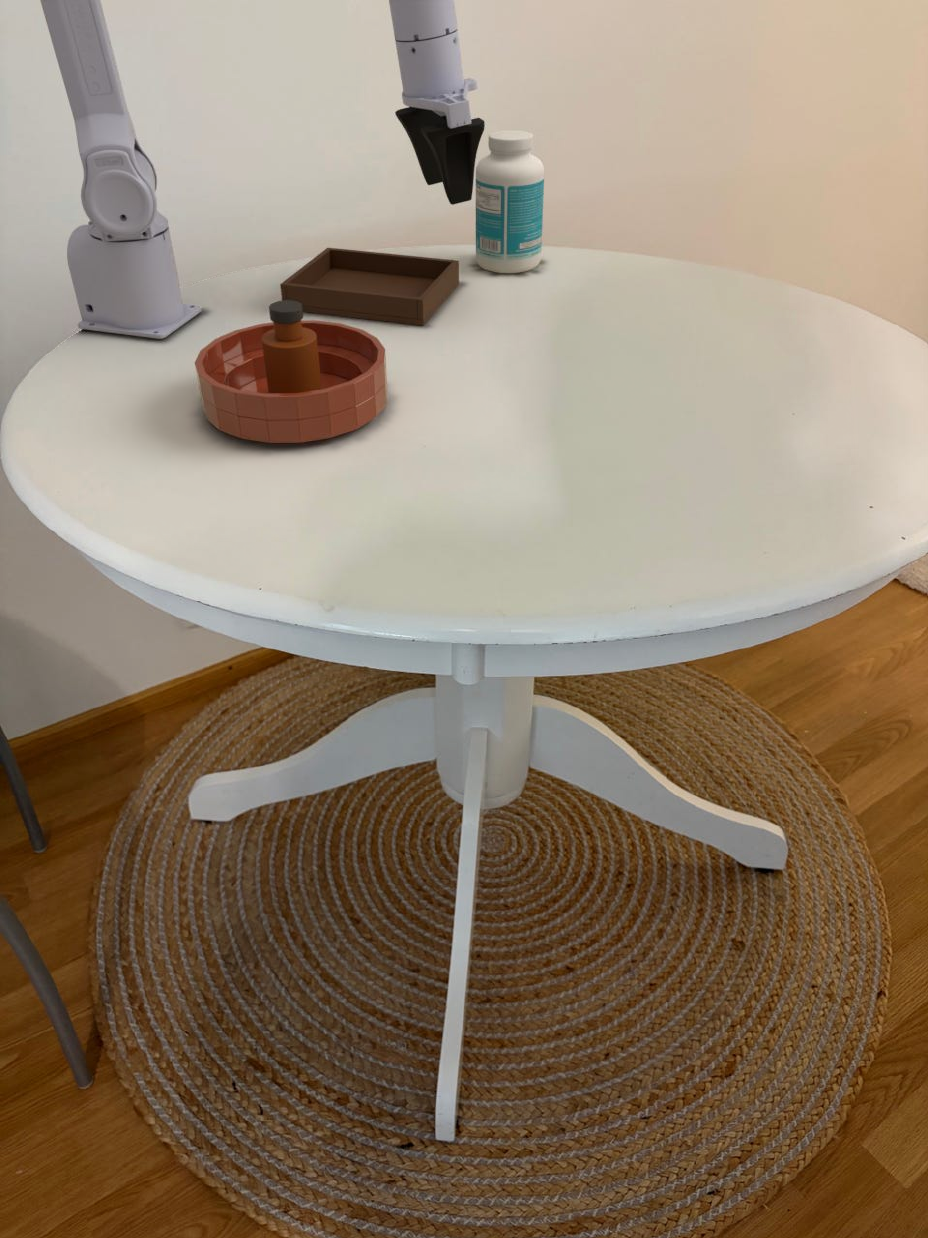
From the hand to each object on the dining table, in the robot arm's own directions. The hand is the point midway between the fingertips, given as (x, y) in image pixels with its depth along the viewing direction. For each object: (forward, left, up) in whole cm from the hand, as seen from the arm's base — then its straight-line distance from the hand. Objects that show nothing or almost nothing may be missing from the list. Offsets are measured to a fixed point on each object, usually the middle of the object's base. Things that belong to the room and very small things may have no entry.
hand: (448, 191), depth 94 cm
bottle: (-4, -29, -10) cm, 31 cm away
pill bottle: (+4, +11, -11) cm, 16 cm away
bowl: (-4, -29, -10) cm, 31 cm away
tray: (-7, -3, -10) cm, 13 cm away
